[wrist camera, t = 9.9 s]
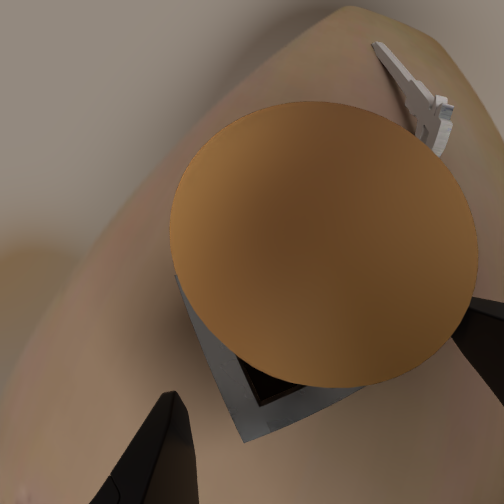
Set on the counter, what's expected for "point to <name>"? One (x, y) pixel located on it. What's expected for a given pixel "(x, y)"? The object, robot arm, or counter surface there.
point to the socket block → (244, 393)
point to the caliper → (420, 103)
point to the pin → (324, 244)
